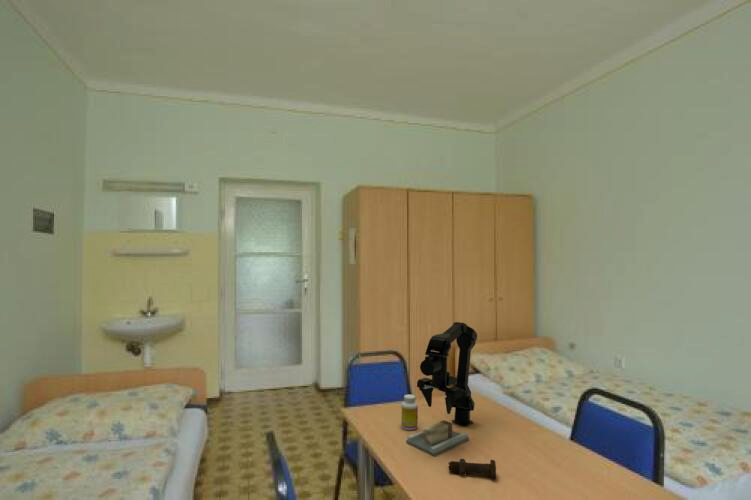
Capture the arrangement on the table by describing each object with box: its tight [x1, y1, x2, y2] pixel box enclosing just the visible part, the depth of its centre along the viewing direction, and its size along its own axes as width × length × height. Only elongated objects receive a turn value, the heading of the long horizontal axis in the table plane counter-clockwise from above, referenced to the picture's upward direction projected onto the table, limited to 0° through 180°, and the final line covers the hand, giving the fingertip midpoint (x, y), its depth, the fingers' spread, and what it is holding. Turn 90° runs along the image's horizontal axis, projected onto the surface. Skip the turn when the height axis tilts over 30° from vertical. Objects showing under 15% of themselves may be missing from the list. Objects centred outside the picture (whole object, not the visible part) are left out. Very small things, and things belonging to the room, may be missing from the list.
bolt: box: [447, 458, 497, 480], centre depth 139 cm, size 6×5×15 cm
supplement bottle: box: [400, 394, 419, 431], centre depth 175 cm, size 7×7×13 cm
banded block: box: [423, 419, 453, 446], centre depth 162 cm, size 4×12×5 cm, turn 131°
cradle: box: [405, 429, 470, 457], centre depth 163 cm, size 20×14×2 cm
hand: (439, 410), depth 163 cm, fingers open, 9 cm apart
